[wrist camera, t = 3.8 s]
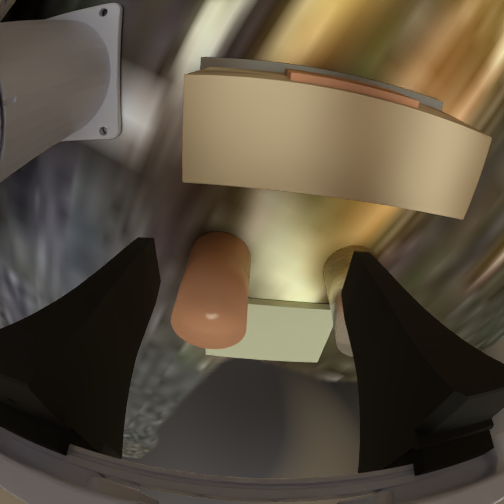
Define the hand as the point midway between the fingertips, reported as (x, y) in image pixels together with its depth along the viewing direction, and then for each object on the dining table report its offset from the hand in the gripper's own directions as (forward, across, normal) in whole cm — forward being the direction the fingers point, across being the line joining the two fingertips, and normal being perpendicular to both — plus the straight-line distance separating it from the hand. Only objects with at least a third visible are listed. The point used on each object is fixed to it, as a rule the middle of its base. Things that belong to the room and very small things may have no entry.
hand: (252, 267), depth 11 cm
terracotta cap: (+8, +2, +6) cm, 10 cm away
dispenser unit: (+8, -3, -4) cm, 9 cm away
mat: (+8, -2, +13) cm, 15 cm away
